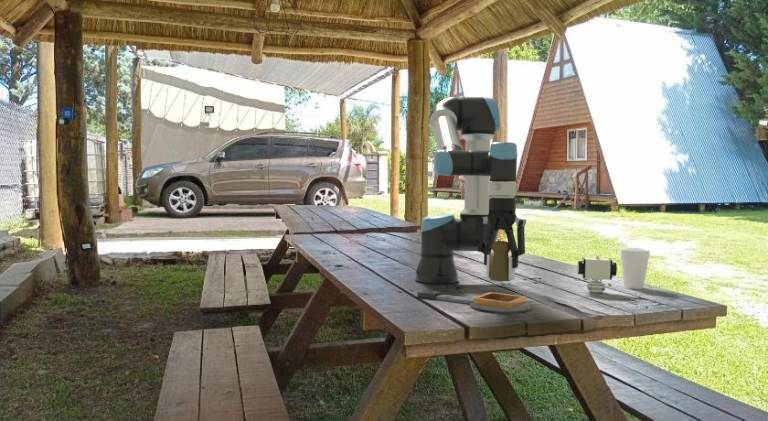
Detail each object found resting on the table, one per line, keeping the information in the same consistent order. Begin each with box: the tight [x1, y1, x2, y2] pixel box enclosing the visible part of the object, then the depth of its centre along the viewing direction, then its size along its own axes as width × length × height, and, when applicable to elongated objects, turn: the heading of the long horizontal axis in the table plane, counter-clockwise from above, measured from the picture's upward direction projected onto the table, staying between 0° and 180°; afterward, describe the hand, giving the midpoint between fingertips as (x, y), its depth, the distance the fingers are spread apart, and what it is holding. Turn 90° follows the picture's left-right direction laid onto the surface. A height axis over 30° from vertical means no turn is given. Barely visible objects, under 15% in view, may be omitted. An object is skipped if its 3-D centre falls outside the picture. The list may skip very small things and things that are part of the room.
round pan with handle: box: [416, 289, 531, 315], centre depth 184 cm, size 34×17×3 cm, turn 56°
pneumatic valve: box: [576, 255, 618, 294], centre depth 205 cm, size 6×12×12 cm, turn 78°
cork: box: [489, 240, 511, 282], centre depth 179 cm, size 6×6×11 cm
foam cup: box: [619, 247, 651, 290], centre depth 214 cm, size 10×9×13 cm
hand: (500, 278), depth 179 cm, fingers closed on cork, 6 cm apart
